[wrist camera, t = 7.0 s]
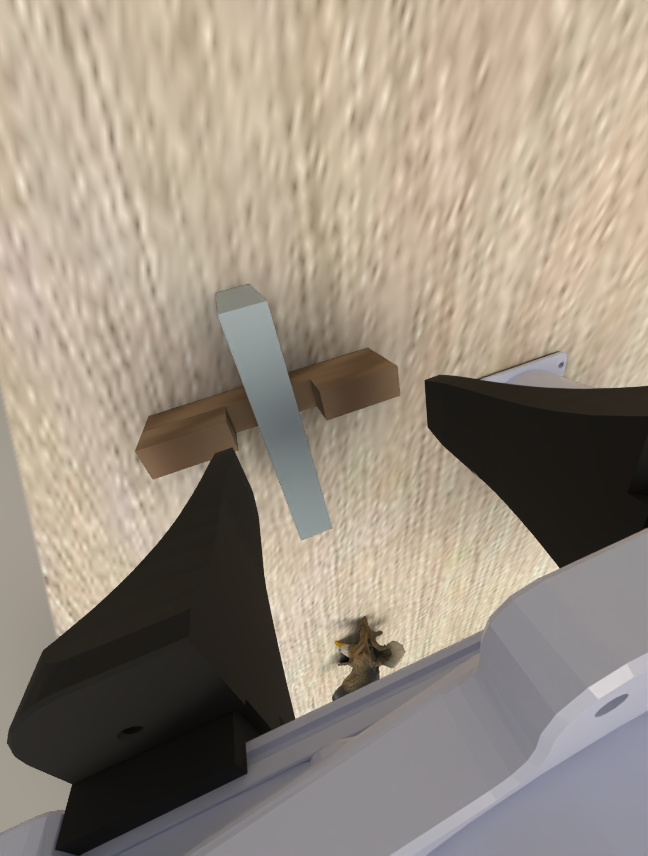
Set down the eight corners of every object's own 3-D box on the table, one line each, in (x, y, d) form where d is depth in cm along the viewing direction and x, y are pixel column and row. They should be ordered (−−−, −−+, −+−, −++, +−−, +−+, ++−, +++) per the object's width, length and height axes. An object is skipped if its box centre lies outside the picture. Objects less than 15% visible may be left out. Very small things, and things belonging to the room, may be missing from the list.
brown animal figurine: (316, 637, 33) (312, 702, 35) (379, 686, 29) (369, 756, 31) (359, 594, 39) (352, 653, 41) (416, 629, 34) (405, 693, 37)
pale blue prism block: (302, 459, 24) (332, 528, 18) (278, 467, 24) (301, 540, 18) (248, 283, 18) (267, 300, 12) (215, 292, 17) (217, 314, 11)
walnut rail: (368, 347, 21) (397, 366, 18) (371, 373, 22) (400, 395, 19) (148, 416, 19) (135, 451, 16) (162, 441, 20) (152, 479, 17)
